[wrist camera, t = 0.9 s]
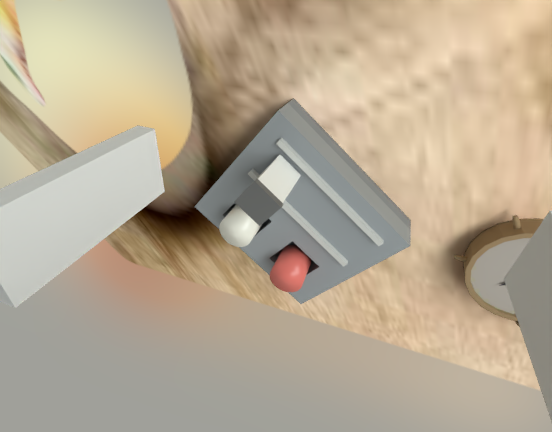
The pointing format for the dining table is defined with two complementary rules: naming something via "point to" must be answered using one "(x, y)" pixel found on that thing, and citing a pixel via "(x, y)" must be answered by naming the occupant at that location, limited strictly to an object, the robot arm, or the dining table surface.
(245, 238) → the button cream
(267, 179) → the slider knob
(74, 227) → the robot arm
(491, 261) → the alarm clock
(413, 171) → the dining table surface
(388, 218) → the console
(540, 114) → the dining table surface
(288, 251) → the button red
